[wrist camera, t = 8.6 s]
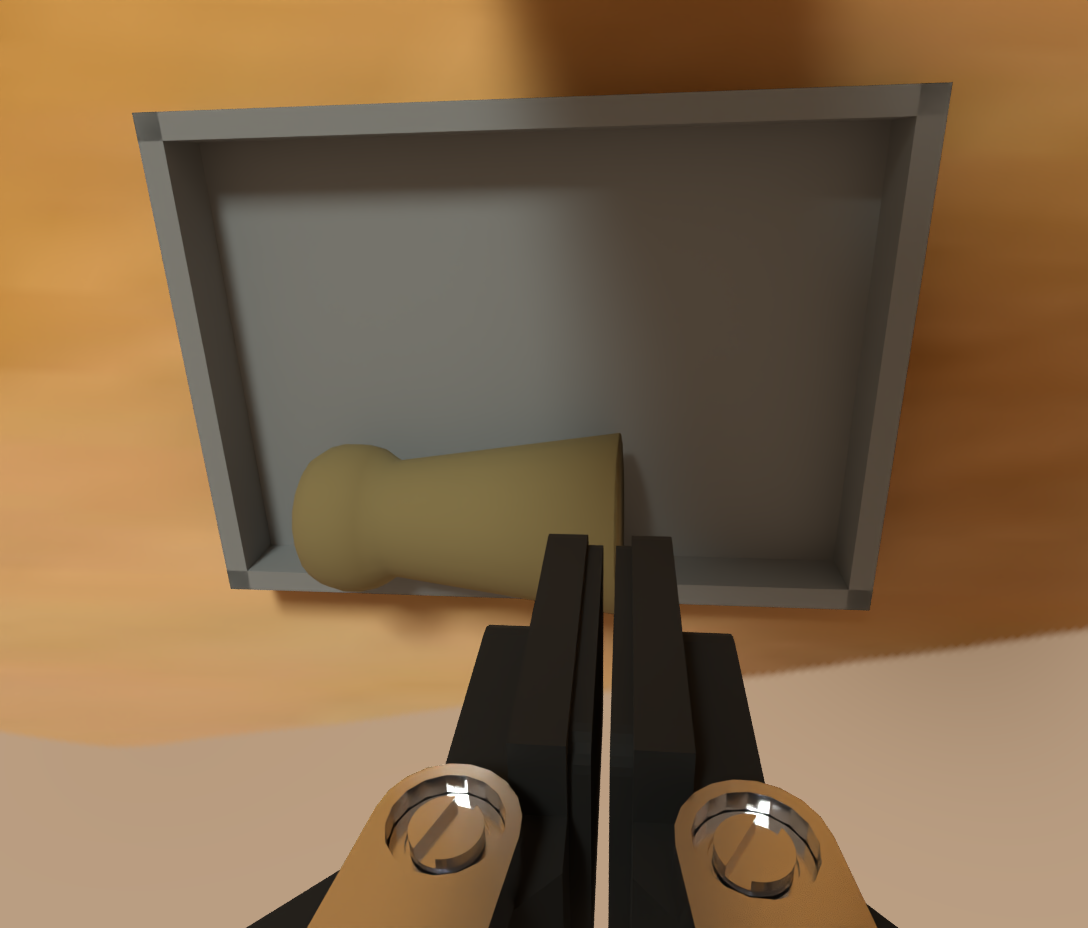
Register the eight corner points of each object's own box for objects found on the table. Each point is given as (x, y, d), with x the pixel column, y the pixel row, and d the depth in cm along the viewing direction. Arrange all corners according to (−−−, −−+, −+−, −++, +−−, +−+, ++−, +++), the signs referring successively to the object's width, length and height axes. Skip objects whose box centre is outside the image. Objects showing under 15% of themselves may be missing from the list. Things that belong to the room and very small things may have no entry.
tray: (919, 90, 23) (952, 82, 20) (850, 574, 29) (869, 610, 26) (177, 117, 25) (132, 112, 23) (260, 557, 31) (230, 588, 29)
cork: (618, 397, 24) (293, 399, 25) (610, 581, 21) (247, 569, 23) (626, 480, 29) (356, 476, 31) (620, 635, 26) (326, 622, 28)
